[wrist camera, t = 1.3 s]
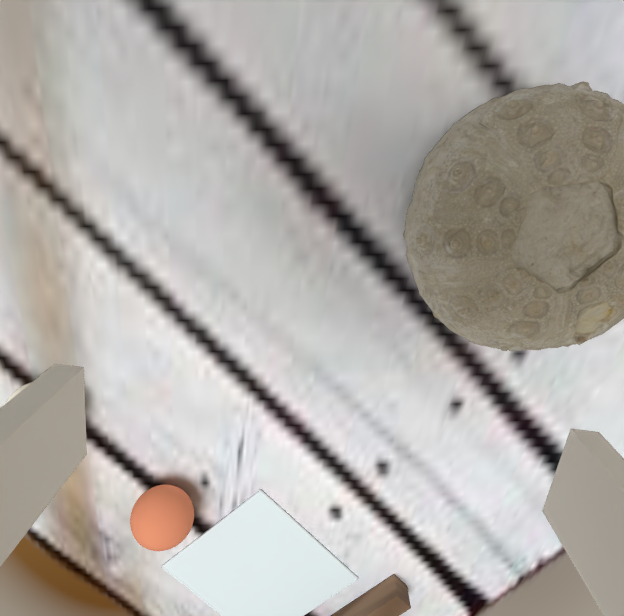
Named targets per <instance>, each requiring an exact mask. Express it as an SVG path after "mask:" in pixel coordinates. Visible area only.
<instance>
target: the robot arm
mask: <svg viewBox="0 0 624 616" xmlns="http://www.w3.org/2000/svg"><path fill="white" fill-rule="evenodd" d="M86 455H87V450H86V418H85V386H84V367H78V366H70V365H62V364H54V365H53V366H52V367H50V368H49V369H48V370H47V371H45V372H44V373H43V374H42V375H40V376H39V377H38V378H37V379H36V380H34V381H33V382H32V383H31V384H29V385H28V386H27V387H26V388H25V389H23V390H22V391H21V392H20V393H18V394H17V395H16V396H15V397H13V398H12V399H11V400H10V401H9V402H7V403H6V404H5V405H4V406H2V407H1V408H0V566H1V565H2V564H3V562H4V561H5V560H6V559H7V557H8V556H9V555H10V553H11V552H12V551H13V549H14V548H15V547H16V546H17V544H18V543H19V542H20V540H21V539H22V538H23V537H24V535H25V534H26V533H27V531H28V530H29V529H30V527H31V526H32V525H33V524H34V522H35V521H36V520H37V518H38V517H39V516H40V514H41V513H42V512H43V511H44V509H45V508H46V507H47V505H48V504H49V503H50V501H51V500H52V499H53V498H54V496H55V495H56V494H57V492H58V491H59V490H60V488H61V487H62V486H63V485H64V483H65V482H66V481H67V479H68V478H69V477H70V475H71V474H72V473H73V472H74V470H75V469H76V468H77V466H78V465H79V464H80V462H81V461H82V460H83V459H84V457H85V456H86ZM542 511H543V513H544V515H545V516H546V518H547V520H548V521H549V523H550V525H551V527H552V528H553V530H554V532H555V533H556V535H557V537H558V539H559V540H560V542H561V544H562V545H563V547H564V549H565V550H566V552H567V554H568V556H569V557H570V559H571V561H572V562H573V564H574V566H575V568H576V569H577V571H578V573H579V574H580V576H581V578H582V579H583V581H584V583H585V585H586V586H587V588H588V590H589V591H590V593H591V595H592V597H593V598H594V600H595V602H596V604H597V605H598V607H599V608H600V610H601V612H602V614H603V615H604V616H624V458H623V457H622V456H621V455H620V454H619V453H618V452H617V451H616V450H615V449H614V448H613V447H612V446H611V444H610V443H609V442H608V441H607V440H606V439H605V438H604V437H603V436H602V435H601V434H600V433H599V432H594V431H586V430H578V429H571V430H570V433H569V436H568V438H567V441H566V444H565V447H564V450H563V453H562V456H561V459H560V461H559V464H558V467H557V470H556V473H555V476H554V479H553V482H552V484H551V487H550V490H549V493H548V496H547V499H546V502H545V504H544V507H543V510H542Z"/></svg>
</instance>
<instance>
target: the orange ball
mask: <svg viewBox="0 0 624 616" xmlns="http://www.w3.org/2000/svg"><path fill="white" fill-rule="evenodd" d="M193 521H194V507H193V504H192V501H191V499H190V497H189V496H188V495H187V493H186V492H185V491H183V490H182V489H180V488H178V487H176V486H173V485H159V486H155V487H153V488H151V489H149V490H147V491H146V492H145V493H143V494H142V495H141V496H140V497H139V499H138V500H137V502H136V503H135V505H134V507H133V510H132V513H131V518H130V525H131V530H132V533H133V536H134V538H135V539H136V540H137V542H138V543H139V544H140V545H142V546H143V547H145V548H147V549H149V550H153V551H164V550H168V549H171V548H173V547H175V546H177V545H178V544H179V543H181V542H182V541H183V540H184V539H185V538H186V536H187V535H188V533H189V532H190V530H191V527H192V525H193Z"/></svg>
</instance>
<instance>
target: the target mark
mask: <svg viewBox="0 0 624 616" xmlns="http://www.w3.org/2000/svg"><path fill="white" fill-rule="evenodd" d="M162 568H163V569H164V570H166V571H167V572H168V573H169V574H171V575H172V576H173V577H174V578H175V579H177V580H178V581H179V582H180V583H182V584H183V585H184V586H185V587H187V588H188V589H189V590H190V591H191V592H193V593H194V594H195V595H196V596H198V597H199V598H200V599H201V600H203V601H204V602H205V603H206V604H207V605H209V606H210V607H211V608H212V609H214V610H215V611H216V612H217V613H219V614H220V615H221V616H304V615H305V614H307V613H308V612H310V611H311V610H313V609H314V608H316V607H317V606H319V605H320V604H322V603H323V602H325V601H326V600H328V599H329V598H331V597H332V596H334V595H335V594H337V593H338V592H340V591H341V590H343V589H344V588H346V587H347V586H349V585H350V584H352V583H353V582H355V581H356V580H358V577H357V576H356V575H355V574H354V573H353V572H352V571H350V570H349V569H348V568H347V567H346V566H345V565H344V564H343V563H342V562H340V561H339V560H338V559H337V558H336V557H335V556H334V555H333V554H332V553H331V552H329V551H328V550H327V549H326V548H325V547H324V546H323V545H322V544H321V543H320V542H318V541H317V540H316V539H315V538H314V537H313V536H312V535H311V534H310V533H309V532H307V531H306V530H305V529H304V528H303V527H302V526H301V525H300V524H299V523H297V522H296V521H295V520H294V519H293V518H292V517H291V516H290V515H289V514H288V513H286V512H285V511H284V510H283V509H282V508H281V507H280V506H279V505H278V504H277V503H275V502H274V501H273V500H272V499H271V498H270V497H269V496H268V495H267V494H266V493H264V492H263V491H262V490H261V489H260V490H259V491H258V492H256V493H255V494H254V495H253V496H251V497H250V498H249V499H247V500H246V501H245V502H244V503H242V504H241V505H240V506H238V507H237V508H236V509H235V510H233V511H232V512H231V513H229V514H228V515H227V516H225V517H224V518H223V519H222V520H220V521H219V522H218V523H216V524H215V525H214V526H213V527H211V528H210V529H209V530H207V531H206V532H205V533H203V534H202V535H201V536H200V537H198V538H197V539H196V540H194V541H193V542H192V543H191V544H189V545H188V546H187V547H185V548H184V549H183V550H182V551H180V552H179V553H178V554H176V555H175V556H174V557H172V558H171V559H170V560H169V561H167V562H166V563H165V564H163V565H162Z"/></svg>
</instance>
